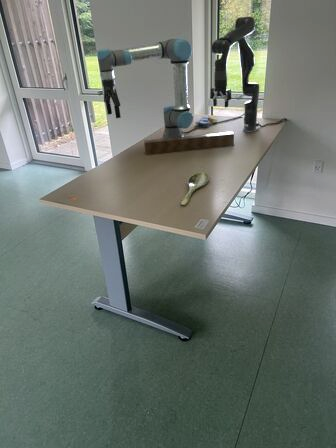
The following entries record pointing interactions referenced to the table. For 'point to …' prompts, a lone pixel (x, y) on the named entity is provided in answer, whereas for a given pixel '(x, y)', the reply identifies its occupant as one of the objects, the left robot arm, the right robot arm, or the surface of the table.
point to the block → (189, 143)
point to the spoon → (195, 184)
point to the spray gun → (206, 121)
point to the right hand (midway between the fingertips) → (220, 106)
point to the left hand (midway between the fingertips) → (114, 116)
